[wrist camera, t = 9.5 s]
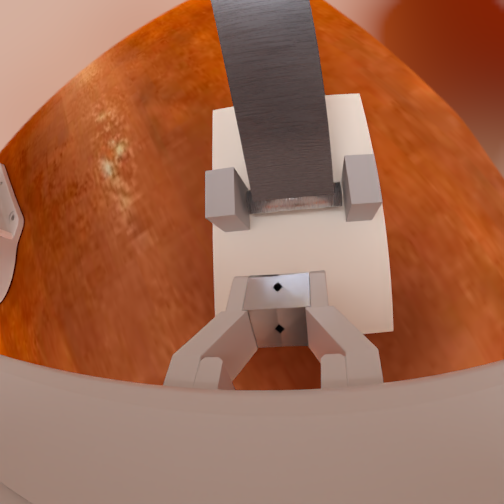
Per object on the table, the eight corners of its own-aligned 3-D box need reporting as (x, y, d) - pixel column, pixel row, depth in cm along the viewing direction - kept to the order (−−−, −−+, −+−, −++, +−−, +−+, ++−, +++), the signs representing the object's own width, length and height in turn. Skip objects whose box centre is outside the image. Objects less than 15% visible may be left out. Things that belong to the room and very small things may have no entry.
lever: (343, 214, 19) (304, -64, 9) (248, 222, 20) (190, -44, 11) (338, 196, 21) (303, -50, 12) (253, 203, 22) (203, -34, 13)
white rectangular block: (381, 326, 23) (411, 338, 15) (233, 334, 26) (191, 348, 17) (355, 121, 26) (363, 57, 18) (227, 135, 29) (194, 79, 20)
